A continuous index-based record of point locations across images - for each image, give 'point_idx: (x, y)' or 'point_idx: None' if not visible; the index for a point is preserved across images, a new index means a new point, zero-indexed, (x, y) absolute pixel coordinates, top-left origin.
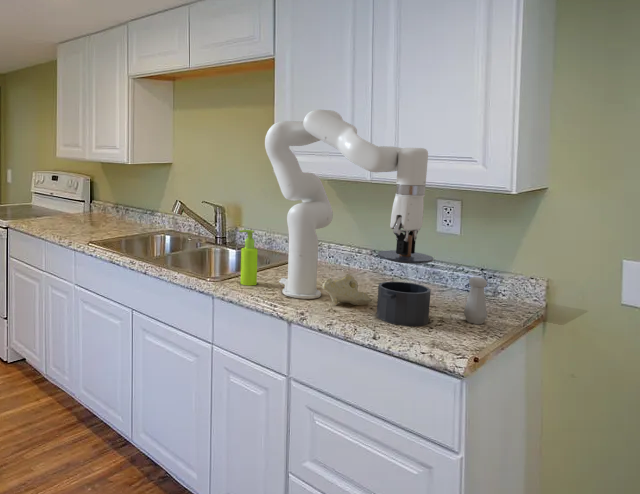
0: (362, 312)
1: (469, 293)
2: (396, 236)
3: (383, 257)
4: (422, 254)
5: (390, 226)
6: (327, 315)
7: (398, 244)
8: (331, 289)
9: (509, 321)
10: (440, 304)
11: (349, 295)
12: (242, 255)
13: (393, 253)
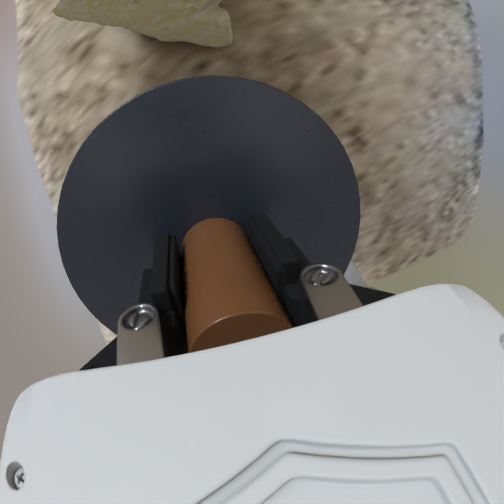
0: (143, 85)
1: (346, 278)
2: (90, 361)
3: (58, 226)
4: (334, 260)
5: (13, 409)
6: (42, 82)
7: (139, 300)
8: (77, 14)
9: (369, 273)
10: (386, 144)
11: (139, 30)
12: None
13: (198, 174)
